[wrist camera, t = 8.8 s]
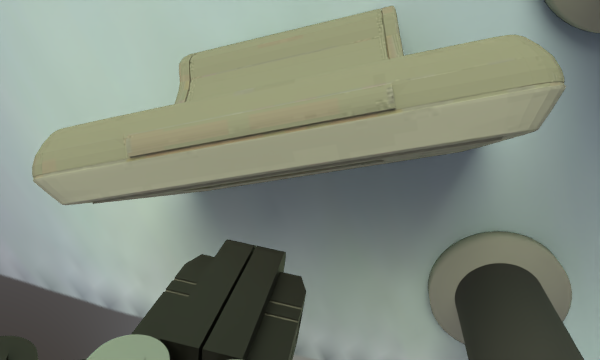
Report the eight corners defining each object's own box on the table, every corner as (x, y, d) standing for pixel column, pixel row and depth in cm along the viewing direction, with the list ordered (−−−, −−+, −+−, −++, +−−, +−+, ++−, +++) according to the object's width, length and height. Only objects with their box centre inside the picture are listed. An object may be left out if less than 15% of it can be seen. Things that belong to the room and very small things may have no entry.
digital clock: (180, 180, 25) (49, 292, 15) (156, 13, 21) (-32, 15, 12) (475, 193, 22) (552, 340, 12) (501, 3, 18) (636, -5, 9)
